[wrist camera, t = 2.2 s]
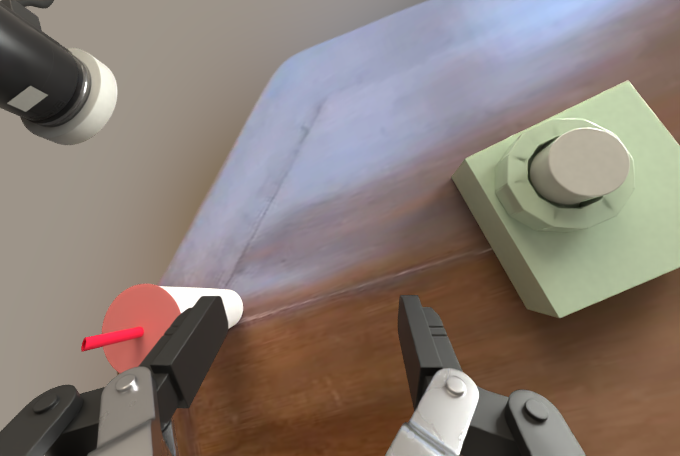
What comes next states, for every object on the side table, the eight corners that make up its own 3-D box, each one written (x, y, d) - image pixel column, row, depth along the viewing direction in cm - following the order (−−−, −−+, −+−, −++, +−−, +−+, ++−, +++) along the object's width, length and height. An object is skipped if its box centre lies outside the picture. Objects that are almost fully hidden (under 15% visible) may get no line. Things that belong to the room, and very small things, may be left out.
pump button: (516, 161, 18) (534, 147, 16) (576, 132, 17) (602, 115, 15) (551, 216, 17) (574, 209, 15) (615, 187, 16) (647, 176, 14)
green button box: (450, 177, 24) (473, 146, 18) (585, 112, 23) (657, 57, 17) (526, 309, 21) (582, 325, 15) (680, 243, 20) (801, 232, 14)
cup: (188, 319, 25) (19, 363, 13) (218, 267, 25) (78, 267, 14) (233, 351, 24) (93, 430, 12) (264, 297, 24) (155, 324, 13)
